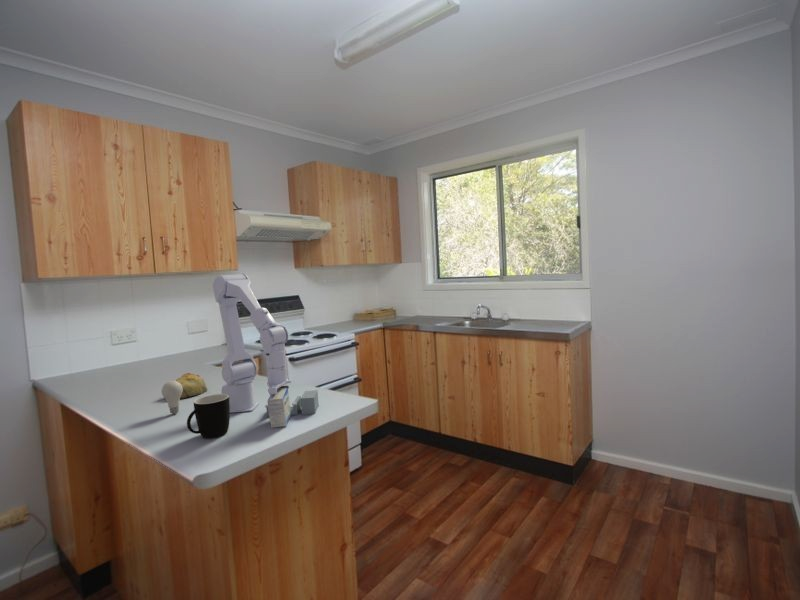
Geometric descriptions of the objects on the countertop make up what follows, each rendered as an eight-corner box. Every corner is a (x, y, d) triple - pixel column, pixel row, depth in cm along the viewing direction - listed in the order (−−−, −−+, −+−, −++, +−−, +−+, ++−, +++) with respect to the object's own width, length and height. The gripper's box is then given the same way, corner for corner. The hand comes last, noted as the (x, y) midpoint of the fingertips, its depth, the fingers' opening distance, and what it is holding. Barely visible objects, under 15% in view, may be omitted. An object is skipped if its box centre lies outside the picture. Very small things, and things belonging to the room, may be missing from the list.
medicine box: (286, 427, 120) (283, 398, 118) (270, 428, 119) (266, 400, 117) (291, 413, 127) (288, 387, 125) (276, 415, 127) (272, 388, 125)
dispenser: (266, 418, 128) (264, 402, 128) (273, 408, 137) (271, 393, 136) (314, 414, 129) (313, 398, 129) (318, 405, 138) (317, 390, 137)
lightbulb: (189, 411, 140) (186, 378, 139) (174, 417, 134) (170, 383, 133) (175, 410, 142) (171, 378, 141) (159, 416, 136) (156, 383, 135)
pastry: (208, 388, 170) (206, 368, 169) (205, 396, 158) (203, 375, 157) (169, 393, 165) (167, 373, 164) (163, 402, 153) (161, 380, 153)
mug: (218, 426, 124) (215, 392, 123) (239, 430, 119) (235, 395, 118) (179, 442, 113) (175, 405, 113) (200, 447, 109) (196, 409, 108)
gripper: (285, 371, 120) (289, 418, 121) (294, 360, 134) (298, 402, 135) (259, 373, 119) (264, 420, 120) (272, 362, 134) (275, 404, 135)
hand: (280, 410), depth 128 cm, fingers closed, pressing on medicine box
